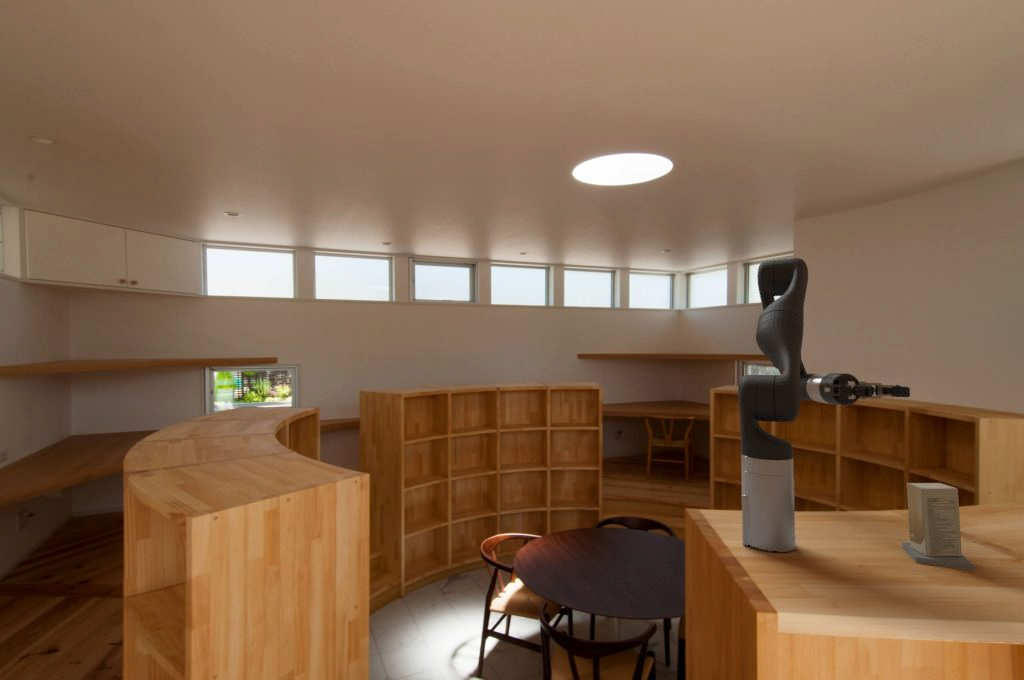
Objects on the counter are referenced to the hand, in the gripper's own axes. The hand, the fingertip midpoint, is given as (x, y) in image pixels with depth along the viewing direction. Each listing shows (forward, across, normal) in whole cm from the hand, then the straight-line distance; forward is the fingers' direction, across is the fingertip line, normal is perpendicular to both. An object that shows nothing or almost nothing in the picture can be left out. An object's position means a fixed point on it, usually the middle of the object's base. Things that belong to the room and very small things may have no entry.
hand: (889, 392), depth 103 cm
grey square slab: (+11, -2, +30) cm, 32 cm away
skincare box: (+11, -2, +29) cm, 31 cm away
